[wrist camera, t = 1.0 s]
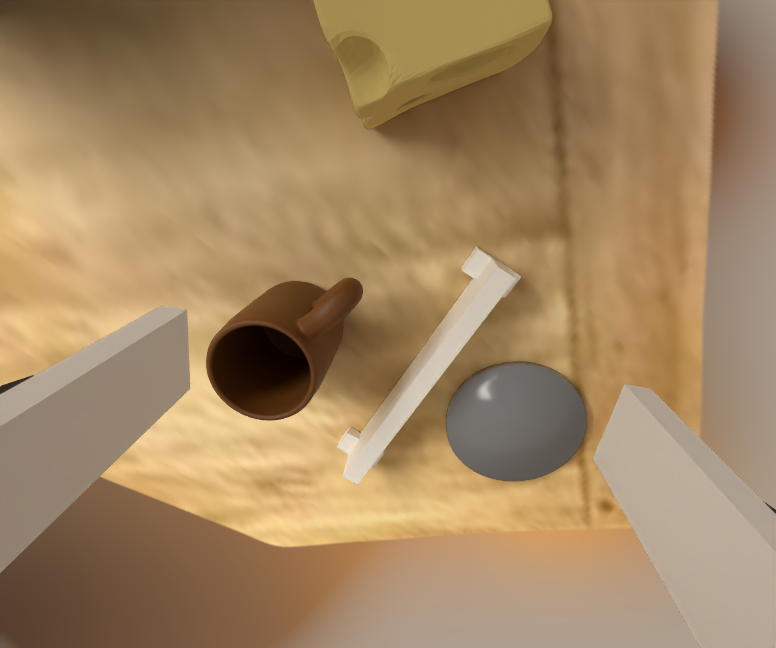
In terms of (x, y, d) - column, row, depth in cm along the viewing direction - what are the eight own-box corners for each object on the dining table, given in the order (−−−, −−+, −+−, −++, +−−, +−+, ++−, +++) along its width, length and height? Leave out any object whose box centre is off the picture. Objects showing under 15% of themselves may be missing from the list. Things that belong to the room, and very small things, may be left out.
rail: (339, 440, 39) (330, 469, 36) (476, 246, 31) (482, 257, 28) (374, 460, 40) (369, 491, 36) (518, 273, 32) (530, 288, 28)
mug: (339, 223, 32) (307, 245, 23) (403, 295, 33) (395, 342, 25) (240, 315, 35) (179, 364, 27) (302, 376, 37) (263, 442, 28)
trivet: (420, 435, 38) (420, 440, 37) (499, 336, 34) (501, 340, 33) (525, 494, 40) (526, 501, 39) (613, 407, 35) (617, 412, 35)
